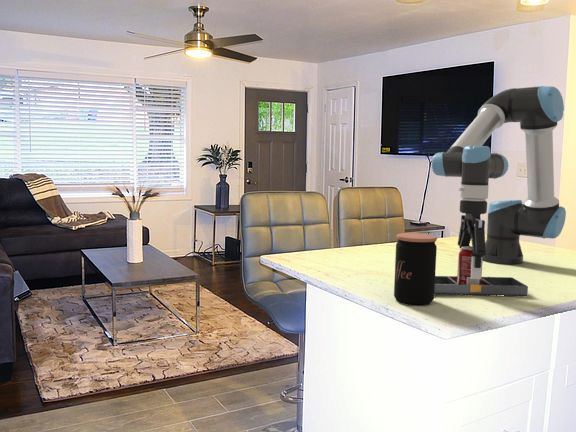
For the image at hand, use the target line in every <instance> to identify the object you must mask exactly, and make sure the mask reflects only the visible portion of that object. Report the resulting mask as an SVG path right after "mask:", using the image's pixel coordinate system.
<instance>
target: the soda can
mask: <svg viewBox="0 0 576 432" xmlns="http://www.w3.org/2000/svg"><path fill="white" fill-rule="evenodd" d="M461 248H462V249H461V250H460V249H459V251H458V255H457V257H458V260H457V283H458V284H462V285H481V279H471V262H472V256H471V254H473V248H472V245H470V246H463V247H461ZM483 261H484V260H483V257H482V262H483ZM482 271H483V269H482V270H481V277H483V276H482V275H483V273H482Z"/></svg>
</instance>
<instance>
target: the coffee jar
mask: <svg viewBox="0 0 576 432" xmlns="http://www.w3.org/2000/svg"><path fill="white" fill-rule="evenodd" d="M396 239H397V242H396V244H395V260H394V263H395V264H394V282H393V283H394V286H393V297H394V299H395V300H396V302H398V303H399V304H402V305H406V306H413V307H421V306H422V307H424V306H429V305H430V304H432V302H433V301H434V299H435V295H434V291H435V276H436V271H437V270H436V269H437V249H438V248H437V244H436V241H437V240H438V237H437V236H436V235H435V234H427V233H419V232H403V233H401V232H400V233H397V234H396Z"/></svg>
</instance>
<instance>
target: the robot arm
mask: <svg viewBox="0 0 576 432" xmlns="http://www.w3.org/2000/svg"><path fill="white" fill-rule="evenodd" d="M564 109H565V106H564V98H563V96H562V92H561V91H560V90H559V89H558V88H557V87H555V86H544V85H541V86H531V87H527V86H526V87H518V88H515V87H514V88H509V89H504V90H503V91H499V93H496V94H494V95H493V96H492V97H490V98H489V99H488V100H486V101H485V102H484V103H483V104H482V105H481V107H480V108H479V109H478V111H477V115H476V117H475V118H474V119H473V121H472V122H470V124H469V125H468V126H467V127H466V128H465V130H464V131H463V132H462V133H461V135H460V136H459V137H458V138H457V139H456V141H455V142H454V143H453V144H452V145H451V146H450V147H449V149H448V150H447V151H446V152H444V151H442V152H437V153H435V154H434V155H433V156H432V159H431V169H432V172H433V174H434V175H436V176H440V177H446V178H448V177H449V178H450V177H452V178H453V177H454V178H461V181H460V187H459V189H458V191H459V192H460V198H461V200H460V201H459V213H461V214H462V215H461V217H460V226H459V232H458V240H457V245H458V246H459V251H460V250H461V249H462V248H461V247H463V246H472V248H473V254H471V256H472V262H471V279H481V277H482V276H481V270H482V271H483V261H484V262H488V263H493V264H502V265H503V264H504V265H517V264H522V263H524V255H523V252H522V247H521V244H520V236H525V237H534V238H540V239H556V238H558V237H559V236H560V235H561V232H563V229H564V227H565V223H566V222H565V221H566V217H567V211H566V208H565V207H563V206H560V200H559V198H557V197H556V196H555V176H554V175H555V173H554V140H553V139H554V138H553V137H554V135H553V134H554V133H553V131H554V130H555V128H557V127H558V122H560V121H561V120H562V119H563V117H564ZM508 123H519V126H520V127H519V128H520V130H522V131H523V132H524V134H525V135H524V136H525V137H524V138H525V159H526V180H527V182H526V185H527V186H526V187H527V197H526V199H525V200H524V201H523V200H522V199H508V200H497V201H492V202H490V203H489V205H488V201H487V199H488V198H489V179H493V180H494V179H498V178H502V177H503V176H505V174H506V173H507V171H508V170H509V161H508V159H507V157H506V156H504V155H503V154H501V153H497V152H492V153H491V147H490V146H488V145H484V144H485V143H486V141H487V140H488V139H489V138H490V137H491V135H492V134H493V133H494V131H495V130H496V129H499V128H501V127H502V126H503V125H504V124H508ZM464 214H465V215H464ZM484 214H487V225H486V224H485V223H486V221H485V219H483V220H482V218H481V215H484ZM485 226H486V228H485ZM485 229H486V231H485ZM485 232H486V233H485ZM485 234H486V235H485ZM470 244H471V245H470ZM482 257H483V261H482Z"/></svg>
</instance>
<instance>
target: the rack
mask: <svg viewBox="0 0 576 432" xmlns="http://www.w3.org/2000/svg"><path fill="white" fill-rule="evenodd" d="M528 289H529V286H528V285H526V284H524V283H523V282H521V281H519V280H518V279H516V278H514V277H510V276H508V277H506V276H505V277H502V276H481V285H462V284H458V283H457V276H456V275H455V276H454V275H453V276H452V275H435V291H434V296H468V295H470V296H471V295H472V296H477V297H478V296H479V297H491V296H490V295H496V296H495V297H498V296H497V295H504V296H503V297H517V296H527V297H528V295H529V294H528ZM487 295H488V296H487Z"/></svg>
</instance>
